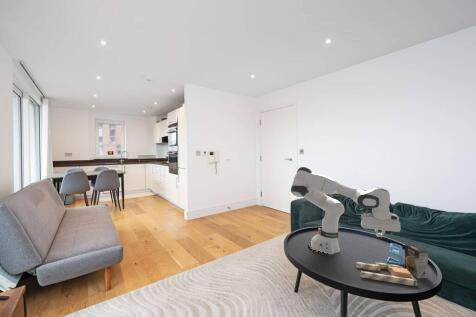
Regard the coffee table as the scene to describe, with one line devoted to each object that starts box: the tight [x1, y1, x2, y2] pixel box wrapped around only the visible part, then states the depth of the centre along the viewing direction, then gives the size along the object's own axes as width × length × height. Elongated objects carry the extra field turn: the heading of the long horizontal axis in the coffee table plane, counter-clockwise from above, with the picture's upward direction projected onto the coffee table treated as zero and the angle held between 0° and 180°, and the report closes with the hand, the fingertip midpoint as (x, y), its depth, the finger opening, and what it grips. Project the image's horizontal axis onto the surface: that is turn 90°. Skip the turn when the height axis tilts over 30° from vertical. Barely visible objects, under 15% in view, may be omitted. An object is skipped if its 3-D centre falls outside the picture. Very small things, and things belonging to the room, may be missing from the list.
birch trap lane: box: [355, 261, 418, 287], centre depth 126 cm, size 27×16×3 cm, turn 72°
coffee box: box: [403, 244, 429, 279], centre depth 126 cm, size 9×6×16 cm
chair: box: [386, 242, 404, 266], centre depth 139 cm, size 8×8×12 cm
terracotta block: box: [390, 267, 411, 279], centre depth 122 cm, size 8×5×5 cm, turn 72°
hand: (379, 236), depth 128 cm, fingers closed
